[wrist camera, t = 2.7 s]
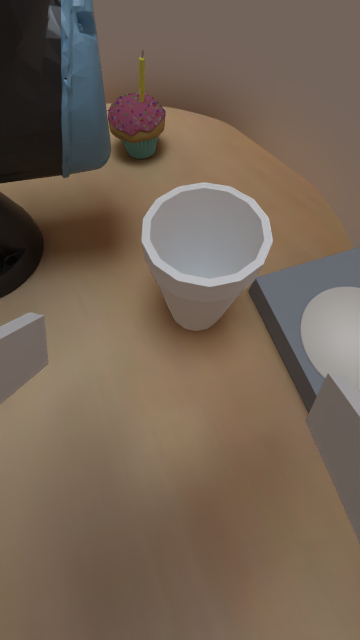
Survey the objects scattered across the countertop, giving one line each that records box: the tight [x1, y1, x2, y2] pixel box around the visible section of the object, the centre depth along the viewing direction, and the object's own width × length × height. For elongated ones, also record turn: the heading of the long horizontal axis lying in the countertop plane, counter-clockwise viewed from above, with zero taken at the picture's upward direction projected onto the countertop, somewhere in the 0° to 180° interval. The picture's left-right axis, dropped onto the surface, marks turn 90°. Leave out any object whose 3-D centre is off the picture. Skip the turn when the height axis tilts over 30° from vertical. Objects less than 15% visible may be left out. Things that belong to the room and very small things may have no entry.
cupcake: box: [108, 49, 166, 159], centre depth 35 cm, size 9×8×12 cm
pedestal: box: [249, 247, 360, 412], centre depth 26 cm, size 20×14×3 cm
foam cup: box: [141, 182, 273, 331], centre depth 23 cm, size 10×9×13 cm
